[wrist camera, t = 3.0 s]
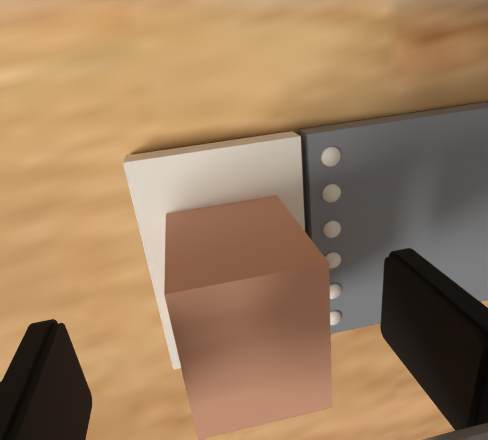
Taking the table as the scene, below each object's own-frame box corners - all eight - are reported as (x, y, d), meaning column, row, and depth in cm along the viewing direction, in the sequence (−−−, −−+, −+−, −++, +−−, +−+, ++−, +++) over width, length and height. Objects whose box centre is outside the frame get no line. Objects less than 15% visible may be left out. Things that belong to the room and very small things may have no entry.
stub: (292, 131, 14) (370, 178, 9) (302, 325, 18) (362, 444, 12) (126, 155, 13) (96, 223, 8) (173, 352, 17) (175, 492, 12)
